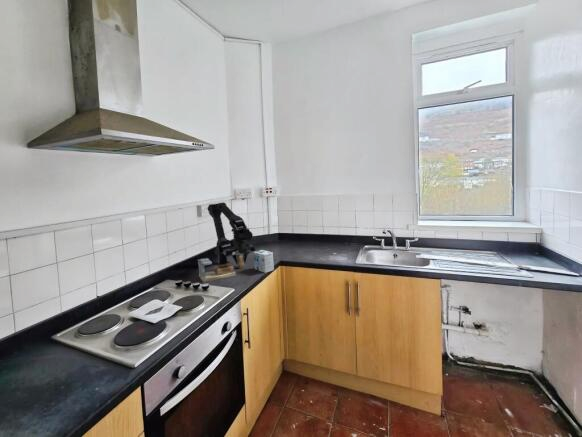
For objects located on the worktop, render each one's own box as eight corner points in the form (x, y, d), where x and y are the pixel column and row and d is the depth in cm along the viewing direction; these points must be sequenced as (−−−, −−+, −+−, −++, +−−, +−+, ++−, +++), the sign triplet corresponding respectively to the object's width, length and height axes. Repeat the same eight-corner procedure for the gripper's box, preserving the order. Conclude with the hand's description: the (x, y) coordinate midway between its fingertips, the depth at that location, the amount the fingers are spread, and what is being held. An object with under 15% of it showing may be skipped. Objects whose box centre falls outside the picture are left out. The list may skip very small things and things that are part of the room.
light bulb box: (254, 269, 167) (252, 252, 165) (263, 266, 171) (261, 249, 170) (265, 273, 159) (264, 254, 158) (274, 269, 164) (273, 252, 162)
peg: (237, 267, 172) (236, 255, 171) (243, 266, 174) (242, 254, 173) (239, 269, 169) (238, 256, 168) (245, 267, 171) (243, 255, 170)
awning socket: (199, 276, 160) (197, 259, 159) (229, 269, 168) (228, 253, 167) (203, 282, 150) (201, 264, 148) (235, 275, 158) (234, 258, 157)
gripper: (227, 243, 157) (229, 270, 160) (258, 238, 166) (260, 263, 168) (222, 240, 167) (224, 265, 169) (251, 235, 176) (253, 259, 178)
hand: (240, 263), depth 171 cm, fingers open, 5 cm apart
